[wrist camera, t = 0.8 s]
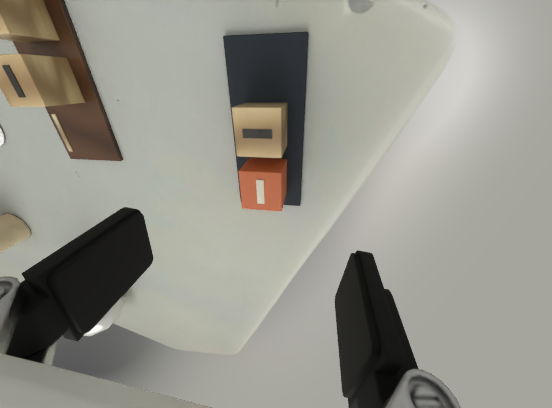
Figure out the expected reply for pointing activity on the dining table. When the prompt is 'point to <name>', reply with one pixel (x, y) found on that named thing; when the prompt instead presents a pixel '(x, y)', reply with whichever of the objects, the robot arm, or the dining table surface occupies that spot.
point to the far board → (81, 116)
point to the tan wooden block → (26, 21)
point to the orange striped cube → (263, 183)
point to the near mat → (272, 89)
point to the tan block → (260, 129)
